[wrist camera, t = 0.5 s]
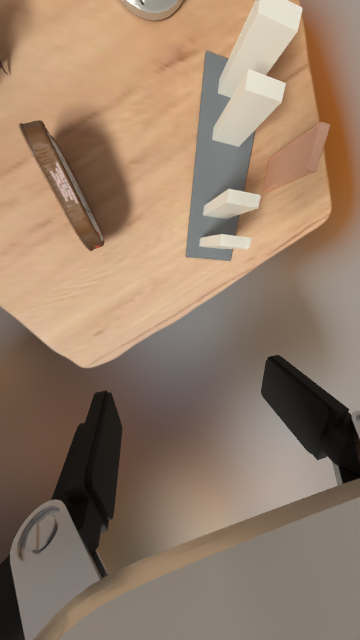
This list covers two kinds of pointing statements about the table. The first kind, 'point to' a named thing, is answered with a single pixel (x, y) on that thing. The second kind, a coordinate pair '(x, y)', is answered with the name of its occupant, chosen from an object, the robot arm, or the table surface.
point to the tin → (62, 183)
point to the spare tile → (296, 158)
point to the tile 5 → (260, 41)
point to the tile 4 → (248, 107)
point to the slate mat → (214, 166)
